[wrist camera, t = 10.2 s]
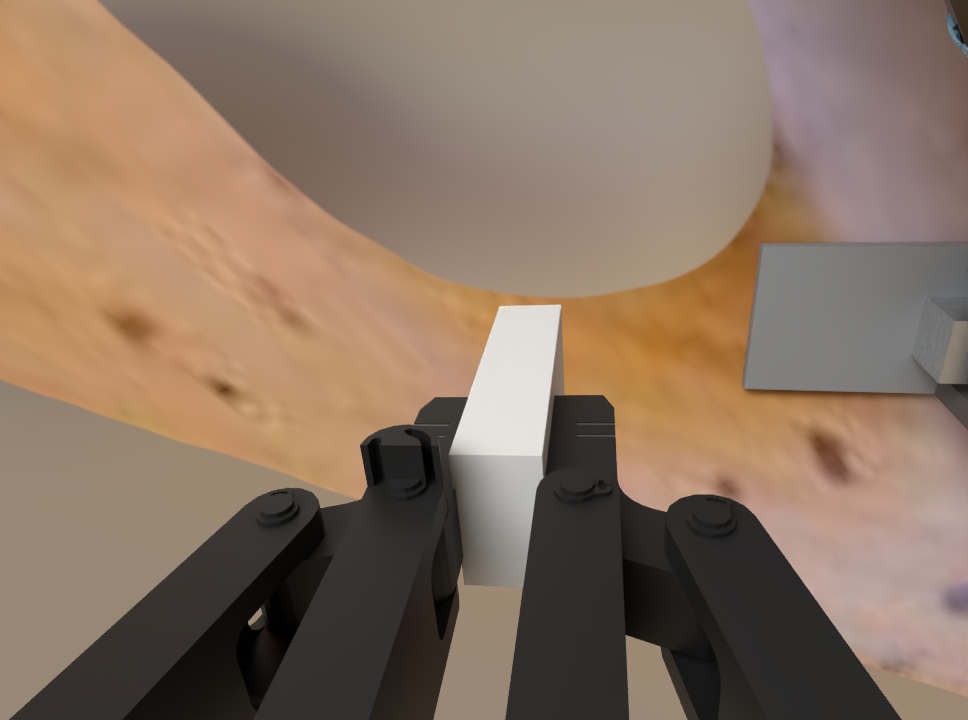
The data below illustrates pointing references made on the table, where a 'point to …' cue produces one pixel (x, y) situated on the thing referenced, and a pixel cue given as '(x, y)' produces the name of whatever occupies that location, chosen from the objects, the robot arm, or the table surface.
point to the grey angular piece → (850, 317)
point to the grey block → (943, 339)
